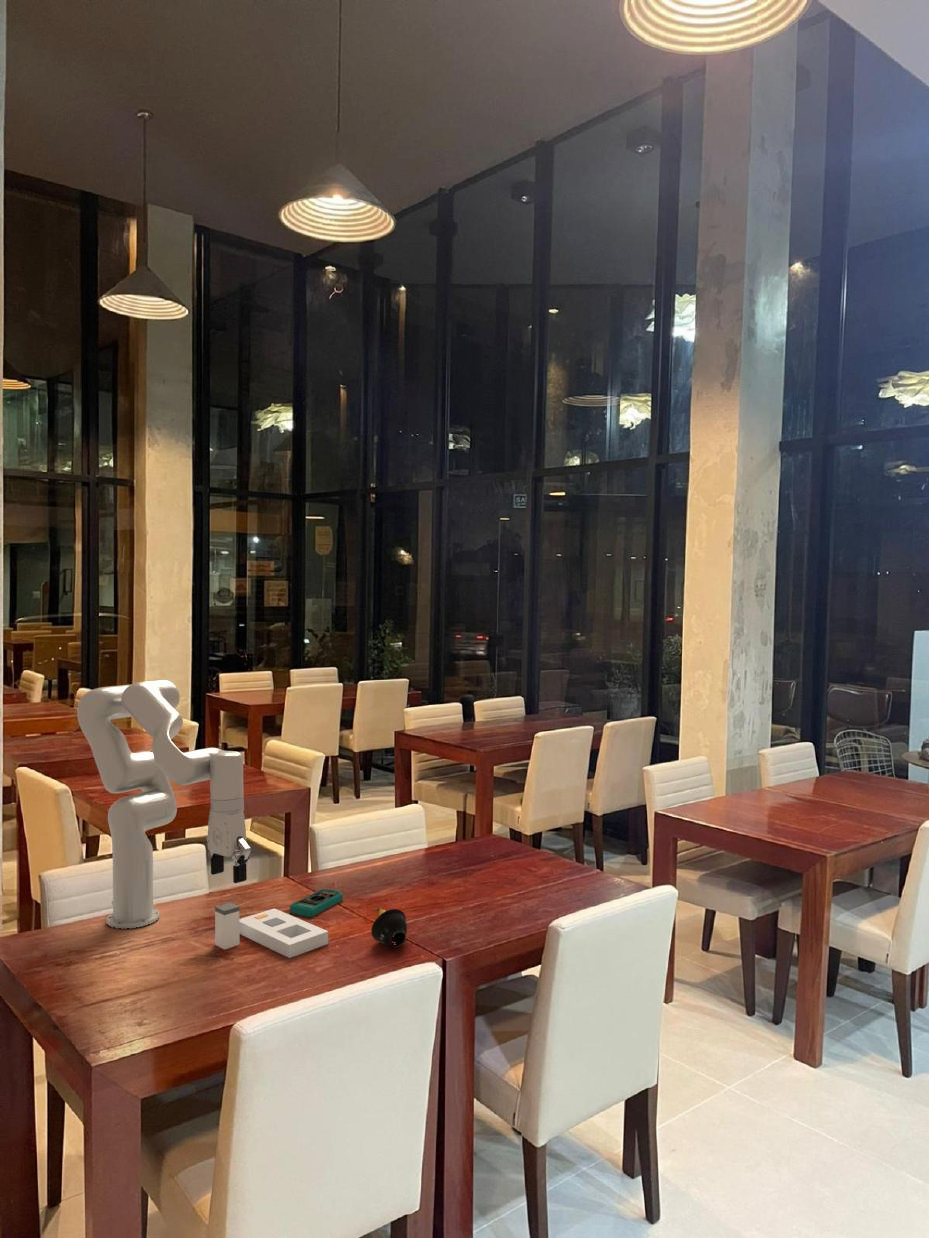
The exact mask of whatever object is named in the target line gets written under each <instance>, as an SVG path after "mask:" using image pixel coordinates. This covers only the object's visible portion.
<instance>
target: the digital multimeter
mask: <svg viewBox="0 0 929 1238" xmlns="http://www.w3.org/2000/svg"><path fill="white" fill-rule="evenodd" d="M343 901H344V895H343V893H342V892H340V891H339V890H335V889H330V888H329V889H328V888H321V889H319V890H317V891H315V892H313V893H311V894H309V895H308V896H305V897H304V898H301V899H299V900H297V901H294V902H293V903H291V904H290V905H289V913H290V914H293V915H296V914H297V915H298V916H303V917H308V918H313V917H315V916H317V915H319V914H320V913H322V912H324V911H326V910H327V909H329V908H331V907H333V906H335V905H337V904H339V903H341V902H343Z"/></svg>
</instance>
